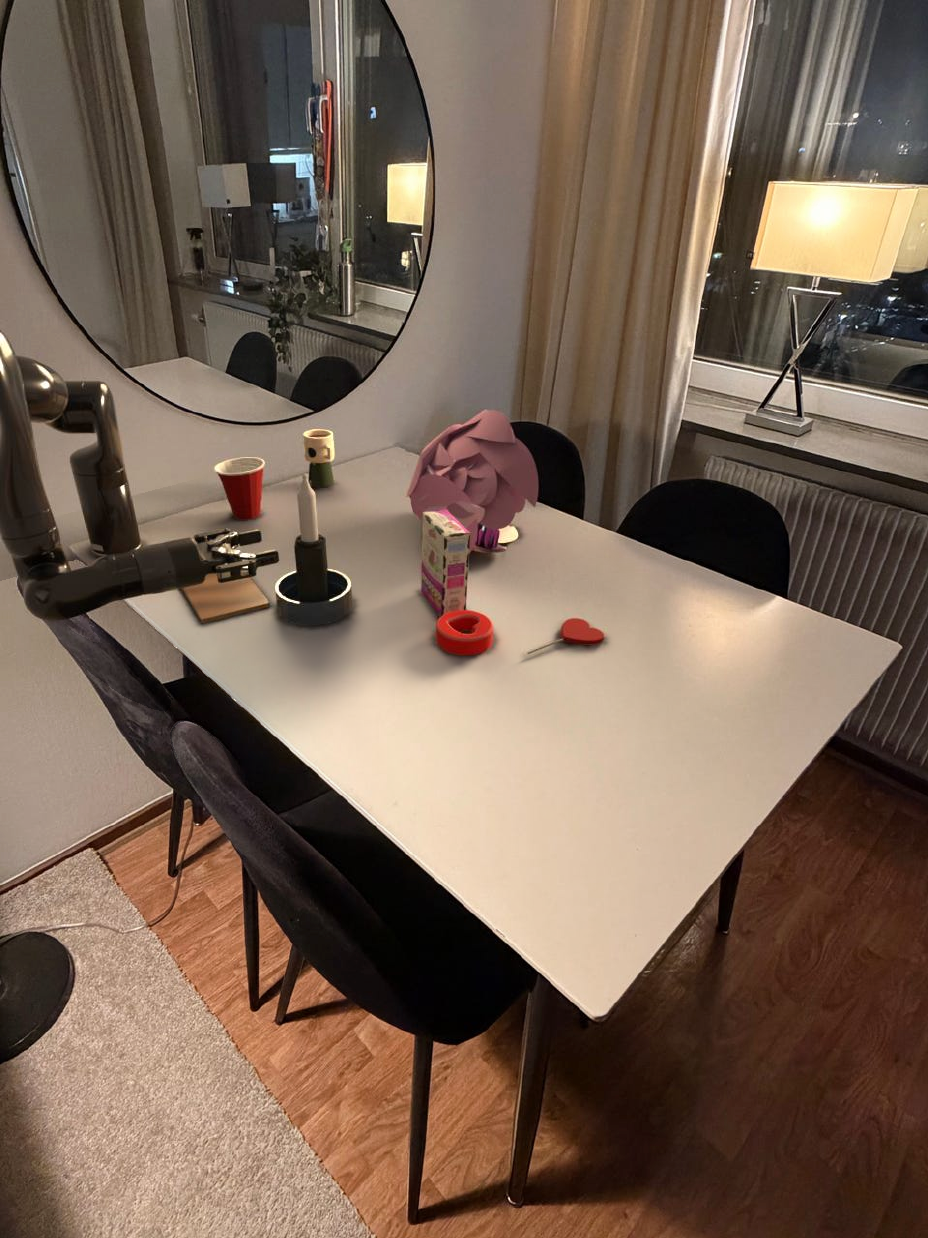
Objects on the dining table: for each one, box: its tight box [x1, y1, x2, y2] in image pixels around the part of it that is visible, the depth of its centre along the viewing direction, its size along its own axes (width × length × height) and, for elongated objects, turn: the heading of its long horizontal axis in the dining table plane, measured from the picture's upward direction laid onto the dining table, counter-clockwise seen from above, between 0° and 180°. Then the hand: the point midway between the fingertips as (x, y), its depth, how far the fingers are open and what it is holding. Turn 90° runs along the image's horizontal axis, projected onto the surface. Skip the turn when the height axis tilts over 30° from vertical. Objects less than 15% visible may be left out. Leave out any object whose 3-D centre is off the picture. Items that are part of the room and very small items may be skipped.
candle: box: [293, 473, 330, 603], centre depth 126 cm, size 5×5×25 cm
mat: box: [181, 570, 271, 624], centre depth 136 cm, size 20×12×1 cm, turn 32°
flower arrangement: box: [405, 409, 539, 554], centre depth 155 cm, size 35×24×28 cm
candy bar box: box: [420, 510, 470, 618], centre depth 131 cm, size 11×5×16 cm, turn 23°
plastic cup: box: [213, 456, 266, 521], centre depth 162 cm, size 11×11×12 cm
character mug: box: [302, 428, 335, 488], centre depth 179 cm, size 11×7×13 cm, turn 38°
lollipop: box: [526, 617, 605, 655], centre depth 125 cm, size 8×1×15 cm
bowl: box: [274, 568, 353, 627], centre depth 131 cm, size 13×13×4 cm
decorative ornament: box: [435, 609, 494, 656], centre depth 125 cm, size 10×10×3 cm
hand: (269, 545), depth 122 cm, fingers open, 8 cm apart
